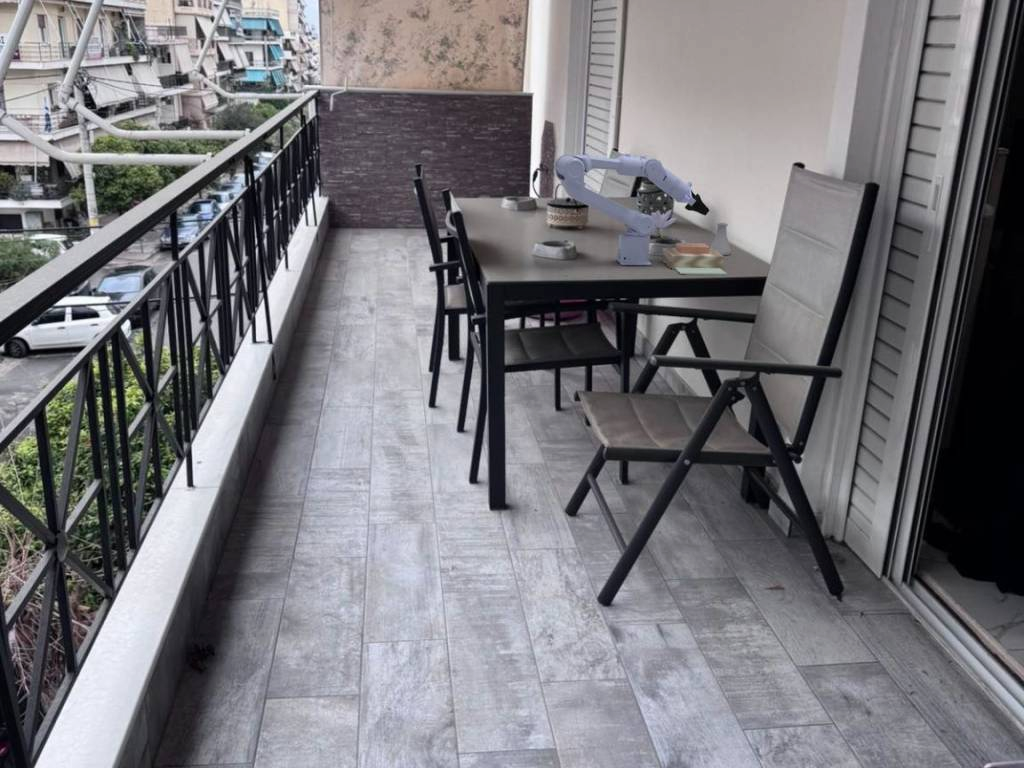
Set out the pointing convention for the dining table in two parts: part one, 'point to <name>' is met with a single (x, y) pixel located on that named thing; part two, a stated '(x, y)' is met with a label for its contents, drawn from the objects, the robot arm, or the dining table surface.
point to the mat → (700, 271)
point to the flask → (721, 240)
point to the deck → (692, 259)
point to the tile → (692, 248)
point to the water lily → (661, 221)
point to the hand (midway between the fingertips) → (703, 208)
